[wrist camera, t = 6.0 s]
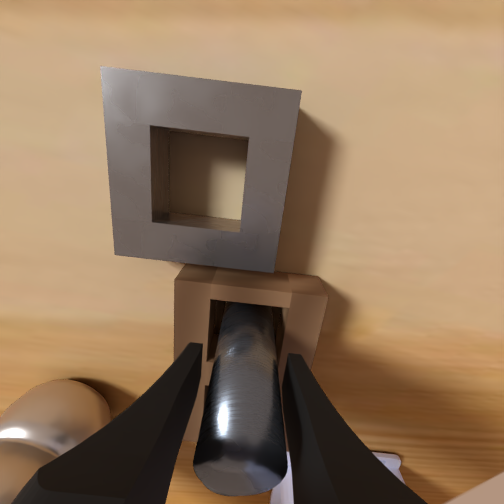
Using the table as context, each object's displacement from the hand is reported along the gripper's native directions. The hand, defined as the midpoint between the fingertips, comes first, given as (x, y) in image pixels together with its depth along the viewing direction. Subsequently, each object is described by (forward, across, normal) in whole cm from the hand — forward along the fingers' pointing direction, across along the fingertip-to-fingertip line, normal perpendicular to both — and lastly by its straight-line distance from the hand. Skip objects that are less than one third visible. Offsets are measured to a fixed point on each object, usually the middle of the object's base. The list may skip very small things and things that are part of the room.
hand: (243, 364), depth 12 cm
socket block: (+5, +3, -8) cm, 10 cm away
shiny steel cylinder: (+5, 0, 0) cm, 5 cm away
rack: (+5, 0, +3) cm, 5 cm away
